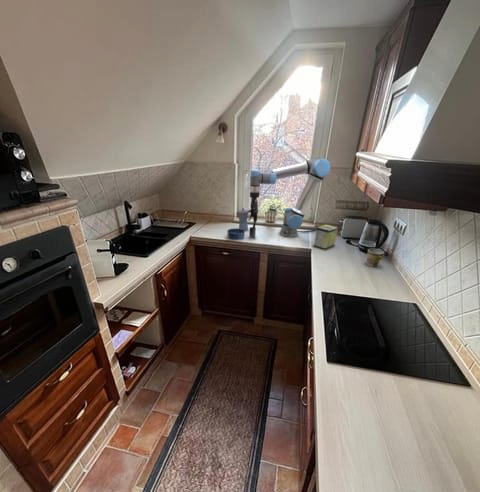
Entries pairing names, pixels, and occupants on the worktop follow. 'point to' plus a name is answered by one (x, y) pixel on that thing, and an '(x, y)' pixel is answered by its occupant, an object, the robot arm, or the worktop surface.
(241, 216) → the moka pot
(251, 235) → the crock
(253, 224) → the cooking stick
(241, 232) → the bowl
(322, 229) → the protein box
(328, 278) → the worktop surface
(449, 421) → the worktop surface
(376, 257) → the ceramic cup
